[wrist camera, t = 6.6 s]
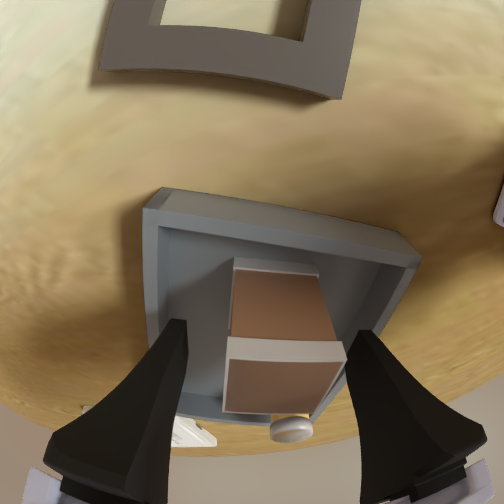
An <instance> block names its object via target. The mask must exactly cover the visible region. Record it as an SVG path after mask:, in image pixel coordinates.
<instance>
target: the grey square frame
mask: <svg viewBox="0 0 504 504" xmlns="http://www.w3.org/2000/svg"><path fill="white" fill-rule="evenodd" d="M165 3H166V0H115V1H114V4H113V8H112V11H111V15H110V18H109V22H108V26H107V30H106V34H105V38H104V43H103V48H102V53H101V58H100V63H99V69H98V70H101V71H109V72H122V71H165V72H184V73H197V74H208V75H217V76H225V77H232V78H239V79H245V80H251V81H257V82H262V83H268V84H272V85H277V86H282V87H286V88H291V89H295V90H299V91H303V92H307V93H311V94H314V95H318V96H321V97H325V98H328V99H332V100H341V99H342V94H343V90H344V85H345V81H346V77H347V72H348V67H349V63H350V58H351V53H352V48H353V43H354V38H355V33H356V27H357V22H358V16H359V11H360V5H361V0H308V3H307V8H306V12H305V17H304V21H303V26H302V31H301V35H300V40H299V41H296V40H291V39H287V38H283V37H278V36H273V35H268V34H262V33H256V32H250V31H243V30H236V29H227V28H217V27H205V26H182V25H160V22H161V18H162V14H163V10H164V7H165Z"/></svg>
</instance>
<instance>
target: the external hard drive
mask: <svg viewBox="0 0 504 504" xmlns="http://www.w3.org/2000/svg"><path fill="white" fill-rule="evenodd" d="M92 407H94V406H85V405H84V407H83V410H82V413H83V414H84V413H85V412H87V411H88V410H90V409H91V408H92ZM211 446H217V439H216V438H215V437H213V436H212V435H211V434H210V433H208V432H207V431H206V430H205V429H203V428H201V427H200V426H199V425H198V424H196V422H195V421H194V420H193V419H191V418H185V417H179V416H175V420H174V425H173V432H172V441H171V447H211Z"/></svg>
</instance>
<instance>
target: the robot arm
mask: <svg viewBox="0 0 504 504" xmlns="http://www.w3.org/2000/svg"><path fill="white" fill-rule="evenodd" d="M493 221H494V222H495V223H497V224H498V225H500V226H502V227H504V185H503V188H502V191H501V194H500V197H499V200H498V203H497V205H496V208H495V211H494V213H493ZM188 355H189V348H188V334H187V320H183V319H175V318H171V319H170V320H169V321H168V323H167V324H166V326H165V328H164V329H163V331H162V332H161V334H160V335H159V337H158V338H157V339H156V341H155V342H154V344H153V345H152V346H151V348H150V349H149V350H148V352H147V353H146V354H145V356H144V357H143V358H142V359H141V360H140V362H139V363H138V364H137V365H136V366H135V367H134V369H133V370H132V371H131V372H130V373H129V374H128V375H127V376H126V378H125V379H124V380H123V381H122V382H121V383H120V384H119V385H118V386H117V387H116V388H115V389H114V390H112V391H111V392H110V393H109V394H108V395H107V396H106V397H105V398H103V399H102V400H101V401H100V402H99V403H97V404H96V405H95V406H94V407H92V408H91V409H90V410H88V411H87V412H85V413H84V414H83V415H81V416H80V417H78V418H77V419H75V420H74V421H72V422H71V423H69V424H67V425H65V426H64V427H62V428H60V429H59V430H57V431H55V432H54V433H53V434H52V437H51V439H50V440H49V443H48V445H47V448H46V452H45V455H44V458H43V462H44V463H45V464H46V465H47V466H48V467H50V468H51V469H53V470H55V471H56V472H58V473H60V474H61V475H63V479H62V481H61V480H59V479H57V478H55V477H53V476H51V475H49V474H47V473H45V472H43V471H41V470H39V469H38V468H36V467H34V466H31V468H30V472H29V475H28V478H27V482H26V486H25V490H24V494H23V498H22V503H21V504H167V503H168V498H167V497H168V474H169V461H170V450H171V441H172V432H173V425H174V420H175V415H176V411H177V407H178V403H179V399H180V395H181V391H182V387H183V383H184V379H185V375H186V369H187V362H188ZM346 357H347V361H346V363H345V365H344V366H345V373H346V380H347V384H348V388H349V392H350V395H351V399H352V403H353V407H354V410H355V414H356V418H357V423H358V428H359V436H360V445H361V462H362V480H361V494H360V504H379V503H383V502H386V501H389V500H390V502H387V503H384V504H484V503H486V502H487V501H488V500H490V499H491V498H492V497H493V496H494V495H495V493H494V489H493V485H492V482H491V478H490V475H489V471H488V468H487V465H486V462H485V459H481V460H480V461H478V462H476V463H474V464H473V465H471V466H469V467H467V468H466V469H464V464H466V463H467V461H466V456H468V455H469V454H471V453H472V452H474V451H475V450H477V449H478V448H479V447H481V446H482V445H483V444H485V443H486V441H487V437H486V434H485V431H484V429H483V427H482V425H481V424H478V423H476V422H474V421H472V420H470V419H468V418H466V417H464V416H463V415H461V414H459V413H458V412H456V411H454V410H453V409H451V408H450V407H448V406H447V405H446V404H444V403H443V402H441V401H440V400H439V399H437V398H436V397H435V396H434V395H432V394H431V393H430V392H429V391H428V390H427V389H426V388H424V387H423V386H422V385H421V384H420V383H419V382H418V381H417V380H416V379H415V378H414V377H413V376H412V375H411V374H410V373H409V372H408V371H407V370H406V369H405V368H404V367H403V365H402V364H401V363H400V362H399V361H398V360H397V359H396V358H395V356H394V355H393V354H392V353H391V352H390V351H389V350H388V348H387V347H386V346H385V345H384V344H383V343H382V341H381V340H380V339H379V338H378V337H377V336H376V335H375V333H374V332H373V331H372V330H359V331H358V333H357V335H356V337H355V339H354V341H353V343H352V345H351V347H350V348H349V350H348V352H347V354H346Z"/></svg>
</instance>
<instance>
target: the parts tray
mask: <svg viewBox="0 0 504 504" xmlns="http://www.w3.org/2000/svg"><path fill="white" fill-rule="evenodd" d="M142 250H143V283H144V300H145V314H146V326H147V336H148V346H149V349H150V348H151V346H152V345H153V344H154V342H155V341H156V339H157V338H158V337H159V335H160V334H161V332H162V331H163V329H164V328H165V326H166V324H167V323H168V321H169V320H170V319H171V318H175V319H183V320H187V334H188V348H189V355H188V362H187V369H186V375H185V379H184V383H183V387H182V391H181V395H180V399H179V403H178V407H177V411H176V415H175V416H179V417H185V418H191V419H197V420H204V421H212V422H220V423H230V424H241V425H255V426H270V425H271V414H242V413H227V412H222V405H223V390H224V377H225V364H226V351H227V339H228V336H229V337H230V329H228V323H229V311H230V299H231V288H232V277H233V266H234V257H241V258H252V259H263V260H274V261H285V262H296V263H307V264H316V266H317V269H318V272H319V277H318V281H319V284H320V288H321V291H322V294H323V297H324V300H325V303H326V306H327V309H328V312H329V315H330V319H331V322H332V325H333V328H334V332H335V335H336V338H337V341H342V344H343V347H344V350H345V353H346V354H347V352H348V350H349V348H350V347H351V345H352V343H353V341H354V339H355V337H356V335H357V333H358V331H359V330H372V331H373V332H374V333H375V335H376V336H377V337H378V336H379V335H380V333H381V332H382V330H383V329H384V327H385V325H386V324H387V322H388V321H389V319H390V317H391V316H392V314H393V312H394V310H395V309H396V307H397V305H398V304H399V302H400V300H401V298H402V297H403V295H404V293H405V291H406V289H407V287H408V286H409V284H410V282H411V280H412V278H413V276H414V274H415V272H416V270H417V268H418V266H419V264H420V262H421V260H422V257H421V255H420V254H419V253H418V252H417V251H416V250H415V249H414V248H413V246H412V245H411V244H410V243H409V242H408V241H407V240H406V239H405V238H404V237H403V236H402V235H401V234H400V233H399V232H396V231H392V230H388V229H384V228H380V227H376V226H372V225H367V224H363V223H359V222H354V221H350V220H345V219H341V218H336V217H332V216H327V215H323V214H318V213H313V212H308V211H303V210H298V209H293V208H288V207H283V206H277V205H272V204H267V203H261V202H256V201H250V200H244V199H238V198H232V197H226V196H220V195H214V194H207V193H201V192H194V191H187V190H180V189H173V188H165V187H162V188H161V189H160V190H159V191H158V192H157V193H156V194H155V195H154V196H153V197H152V198H151V199H150V200H149V201H148V203H147V204H146V205H145V206H144V207H143V222H142ZM346 382H347V380H346V373H345V366H344V367H343V369H342V370H341V372H340V374H339V375H338V377H337V379H336V381H335V382H334V384H333V386H332V387H331V389H330V391H329V392H328V394H327V395H326V397H325V399H324V400H323V402H322V403H321V405H320V406H319V408H318V409H317V411H316V413H315V414H309V419H310V420H311V423H312V424H313V423H314V421H315V420H316V419H317V418H318V417H319V416H320V414H321V413H322V412H323V411H324V410H325V409H326V407H327V406H328V405H329V404H330V403H331V401H332V400H333V399H334V398H335V396H336V395H337V394H338V393H339V391H340V390H341V389H342V387H343V386H344V385H345V384H346Z"/></svg>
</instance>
